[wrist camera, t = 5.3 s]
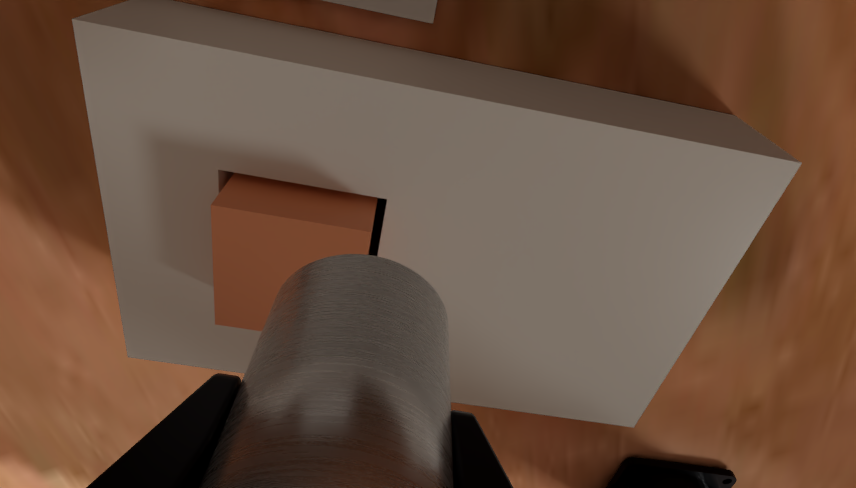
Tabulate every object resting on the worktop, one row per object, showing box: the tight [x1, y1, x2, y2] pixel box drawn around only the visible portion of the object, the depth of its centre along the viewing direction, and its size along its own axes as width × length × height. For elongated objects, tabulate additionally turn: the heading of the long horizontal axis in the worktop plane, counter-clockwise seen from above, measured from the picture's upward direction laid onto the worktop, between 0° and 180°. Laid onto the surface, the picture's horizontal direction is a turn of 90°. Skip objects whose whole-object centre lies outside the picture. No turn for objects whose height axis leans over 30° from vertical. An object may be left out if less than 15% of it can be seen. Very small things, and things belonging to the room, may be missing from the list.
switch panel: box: [72, 0, 802, 427], centre depth 19 cm, size 20×12×4 cm, turn 79°
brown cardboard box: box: [211, 173, 378, 331], centre depth 17 cm, size 4×4×4 cm
